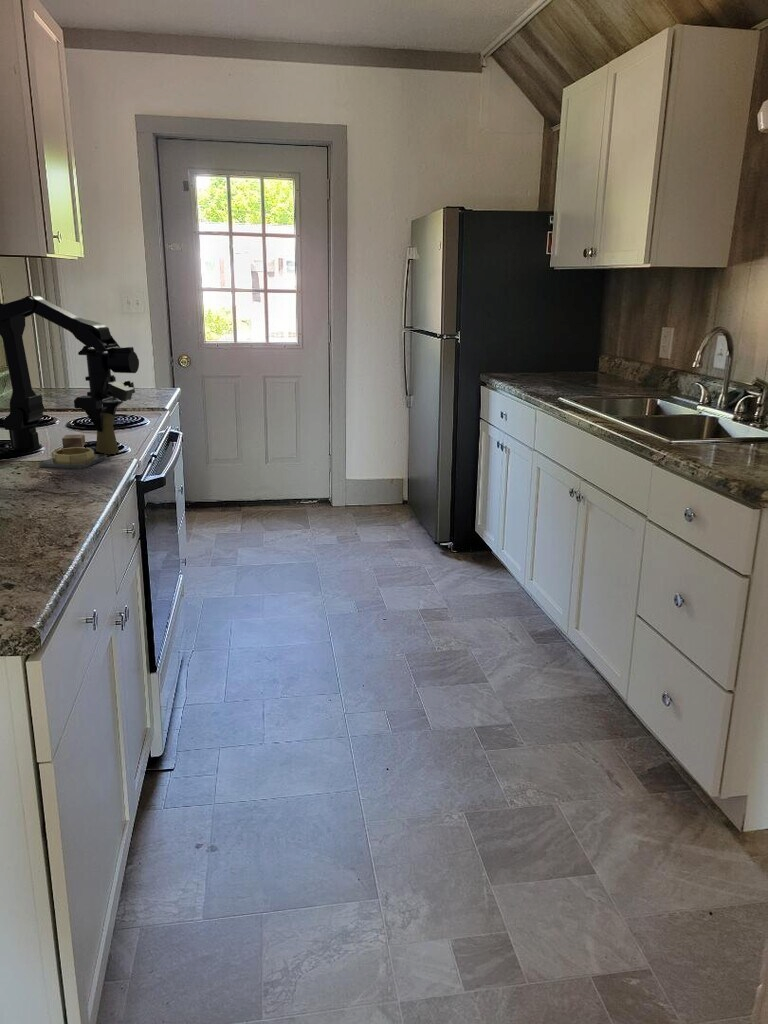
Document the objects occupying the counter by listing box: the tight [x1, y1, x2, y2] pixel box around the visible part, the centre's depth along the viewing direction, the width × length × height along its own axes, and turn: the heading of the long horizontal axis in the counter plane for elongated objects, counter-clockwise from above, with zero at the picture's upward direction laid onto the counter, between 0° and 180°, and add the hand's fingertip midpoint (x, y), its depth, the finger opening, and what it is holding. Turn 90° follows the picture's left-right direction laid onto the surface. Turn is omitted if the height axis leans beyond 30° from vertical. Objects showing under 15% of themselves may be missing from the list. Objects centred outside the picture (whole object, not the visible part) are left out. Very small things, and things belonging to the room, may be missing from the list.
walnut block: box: [61, 433, 86, 449], centre depth 213 cm, size 5×5×4 cm
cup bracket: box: [38, 447, 108, 470], centre depth 199 cm, size 12×12×3 cm
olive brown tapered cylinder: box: [95, 413, 120, 455], centre depth 209 cm, size 6×6×11 cm
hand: (105, 429), depth 209 cm, fingers closed on olive brown tapered cylinder, 5 cm apart
